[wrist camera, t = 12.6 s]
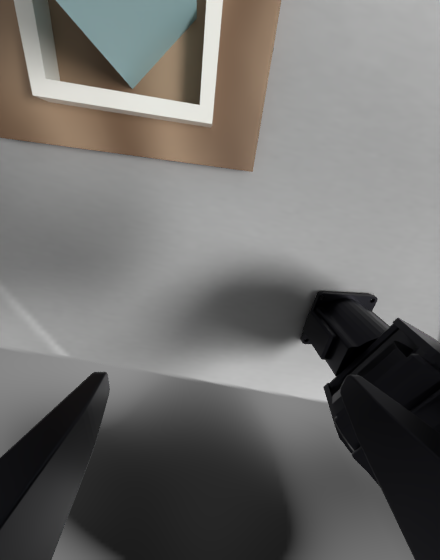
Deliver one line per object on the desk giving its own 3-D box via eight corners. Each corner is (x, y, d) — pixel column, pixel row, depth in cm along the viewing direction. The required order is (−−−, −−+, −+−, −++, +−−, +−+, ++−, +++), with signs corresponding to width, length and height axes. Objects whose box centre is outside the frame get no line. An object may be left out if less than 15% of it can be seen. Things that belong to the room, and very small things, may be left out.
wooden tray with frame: (300, -151, 11) (330, -241, 8) (249, 171, 17) (257, 172, 15) (-90, -284, 9) (-199, -454, 6) (14, 139, 15) (-21, 134, 13)
